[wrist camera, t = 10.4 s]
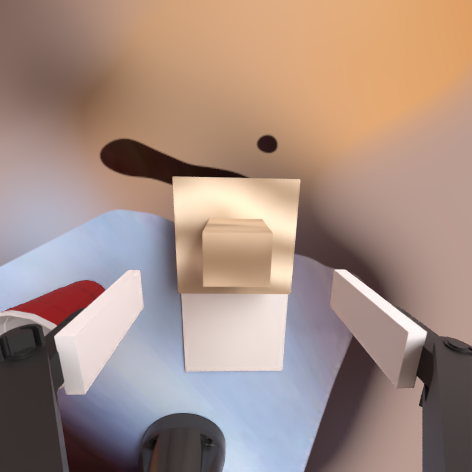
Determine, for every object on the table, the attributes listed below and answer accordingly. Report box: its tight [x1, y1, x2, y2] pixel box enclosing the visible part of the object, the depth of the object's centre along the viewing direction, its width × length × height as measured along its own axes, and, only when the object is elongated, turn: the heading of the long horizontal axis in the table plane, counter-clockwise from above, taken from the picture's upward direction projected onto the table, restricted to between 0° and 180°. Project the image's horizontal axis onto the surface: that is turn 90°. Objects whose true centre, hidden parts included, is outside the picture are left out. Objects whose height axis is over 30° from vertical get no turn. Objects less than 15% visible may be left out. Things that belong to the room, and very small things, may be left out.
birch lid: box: [173, 177, 300, 294], centre depth 24 cm, size 14×14×8 cm
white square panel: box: [181, 293, 288, 371], centre depth 36 cm, size 16×16×1 cm
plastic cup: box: [0, 280, 105, 389], centre depth 29 cm, size 11×11×12 cm
